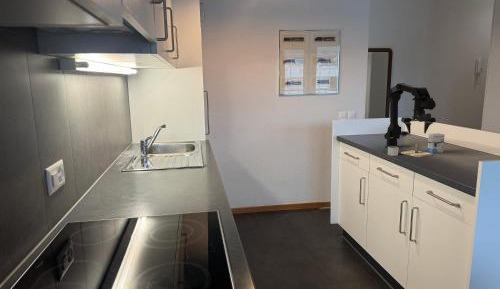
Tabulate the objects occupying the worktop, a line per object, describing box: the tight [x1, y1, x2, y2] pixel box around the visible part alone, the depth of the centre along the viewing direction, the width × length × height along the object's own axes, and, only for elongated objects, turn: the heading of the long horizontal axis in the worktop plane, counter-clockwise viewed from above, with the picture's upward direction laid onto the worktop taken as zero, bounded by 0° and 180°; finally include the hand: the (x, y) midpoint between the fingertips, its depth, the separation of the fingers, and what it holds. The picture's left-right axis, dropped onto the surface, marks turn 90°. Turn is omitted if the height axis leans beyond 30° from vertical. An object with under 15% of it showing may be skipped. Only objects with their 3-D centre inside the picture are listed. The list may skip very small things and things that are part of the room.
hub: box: [387, 145, 399, 157], centre depth 224 cm, size 6×6×5 cm
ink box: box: [426, 132, 445, 154], centre depth 228 cm, size 8×5×12 cm, turn 105°
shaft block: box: [400, 143, 434, 158], centre depth 224 cm, size 14×12×6 cm
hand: (417, 133), depth 220 cm, fingers open, 9 cm apart
